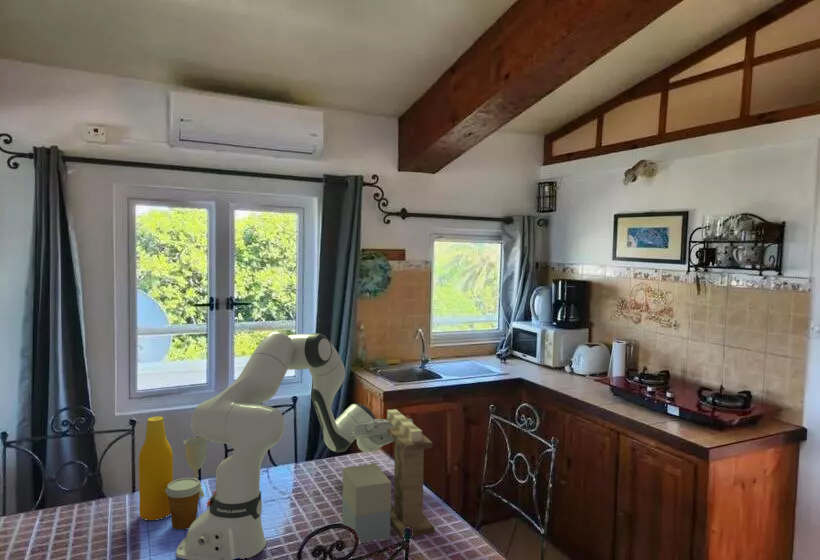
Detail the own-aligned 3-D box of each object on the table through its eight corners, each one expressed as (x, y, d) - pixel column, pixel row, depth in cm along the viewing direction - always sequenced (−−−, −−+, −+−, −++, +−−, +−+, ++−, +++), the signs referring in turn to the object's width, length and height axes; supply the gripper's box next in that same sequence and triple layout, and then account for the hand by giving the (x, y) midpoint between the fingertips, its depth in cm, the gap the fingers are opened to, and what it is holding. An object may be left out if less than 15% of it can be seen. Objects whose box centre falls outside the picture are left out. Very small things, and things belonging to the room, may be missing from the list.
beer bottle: (138, 524, 158) (136, 425, 157) (140, 510, 167) (139, 415, 165) (173, 518, 162) (172, 421, 160) (173, 505, 170) (172, 412, 169)
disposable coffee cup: (204, 527, 157) (204, 486, 156) (168, 536, 152) (168, 493, 151) (198, 513, 165) (197, 474, 165) (163, 521, 160) (163, 481, 159)
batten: (387, 419, 175) (387, 410, 174) (396, 418, 176) (396, 409, 176) (411, 442, 154) (411, 431, 154) (421, 441, 155) (421, 430, 155)
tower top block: (342, 494, 162) (343, 467, 161) (375, 489, 165) (375, 463, 165) (355, 516, 149) (356, 487, 148) (390, 510, 152) (391, 482, 152)
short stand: (383, 512, 167) (384, 428, 166) (414, 507, 171) (415, 424, 170) (401, 538, 152) (402, 446, 151) (434, 532, 156) (435, 442, 155)
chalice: (182, 501, 173) (182, 445, 172) (185, 492, 179) (184, 438, 178) (207, 499, 175) (207, 443, 174) (209, 490, 181) (208, 436, 180)
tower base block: (342, 521, 162) (342, 494, 161) (374, 515, 166) (375, 489, 165) (355, 545, 149) (355, 516, 148) (390, 538, 152) (390, 510, 152)
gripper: (347, 426, 186) (356, 416, 174) (404, 420, 193) (417, 410, 182) (349, 445, 183) (359, 436, 172) (407, 439, 190) (420, 429, 179)
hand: (389, 423), depth 177 cm, fingers open, 8 cm apart
